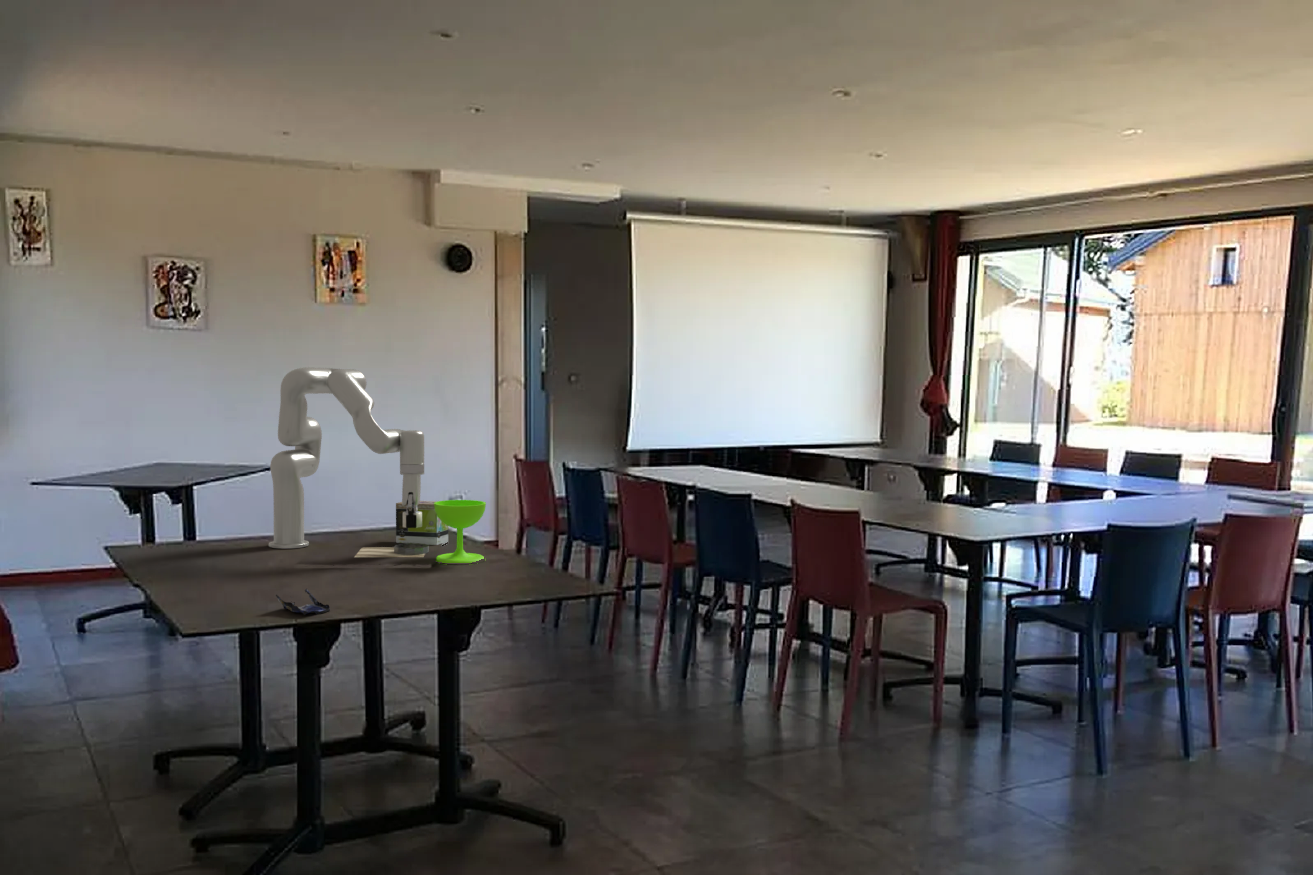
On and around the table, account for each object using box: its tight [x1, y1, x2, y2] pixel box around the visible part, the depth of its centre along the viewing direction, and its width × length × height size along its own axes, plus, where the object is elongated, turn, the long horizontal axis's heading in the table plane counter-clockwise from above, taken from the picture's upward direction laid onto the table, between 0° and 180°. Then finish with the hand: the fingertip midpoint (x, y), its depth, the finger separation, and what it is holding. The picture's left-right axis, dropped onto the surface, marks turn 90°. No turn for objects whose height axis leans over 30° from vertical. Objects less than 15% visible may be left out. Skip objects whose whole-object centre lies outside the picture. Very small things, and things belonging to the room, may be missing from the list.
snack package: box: [275, 588, 331, 616], centre depth 266 cm, size 12×6×12 cm
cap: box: [403, 511, 422, 528], centre depth 345 cm, size 6×6×5 cm
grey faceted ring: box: [393, 543, 430, 555], centre depth 346 cm, size 10×10×2 cm
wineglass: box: [434, 499, 487, 563], centre depth 339 cm, size 16×16×18 cm
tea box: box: [395, 500, 449, 546], centre depth 366 cm, size 15×10×15 cm, turn 77°
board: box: [354, 546, 426, 558], centre depth 345 cm, size 18×21×1 cm
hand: (412, 525), depth 345 cm, fingers closed on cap, 6 cm apart
